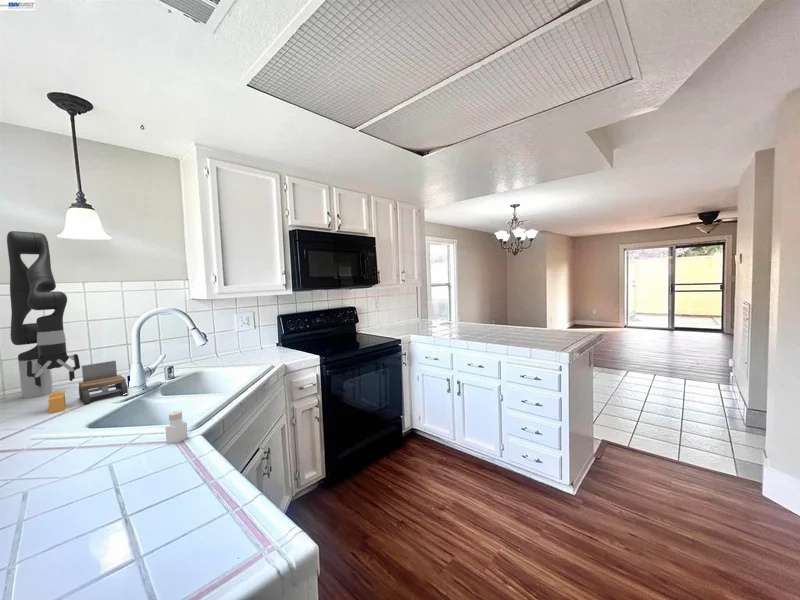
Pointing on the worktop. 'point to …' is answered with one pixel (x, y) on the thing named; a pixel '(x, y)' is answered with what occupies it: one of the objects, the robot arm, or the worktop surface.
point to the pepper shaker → (176, 428)
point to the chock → (57, 402)
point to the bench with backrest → (100, 380)
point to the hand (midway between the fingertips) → (55, 383)
